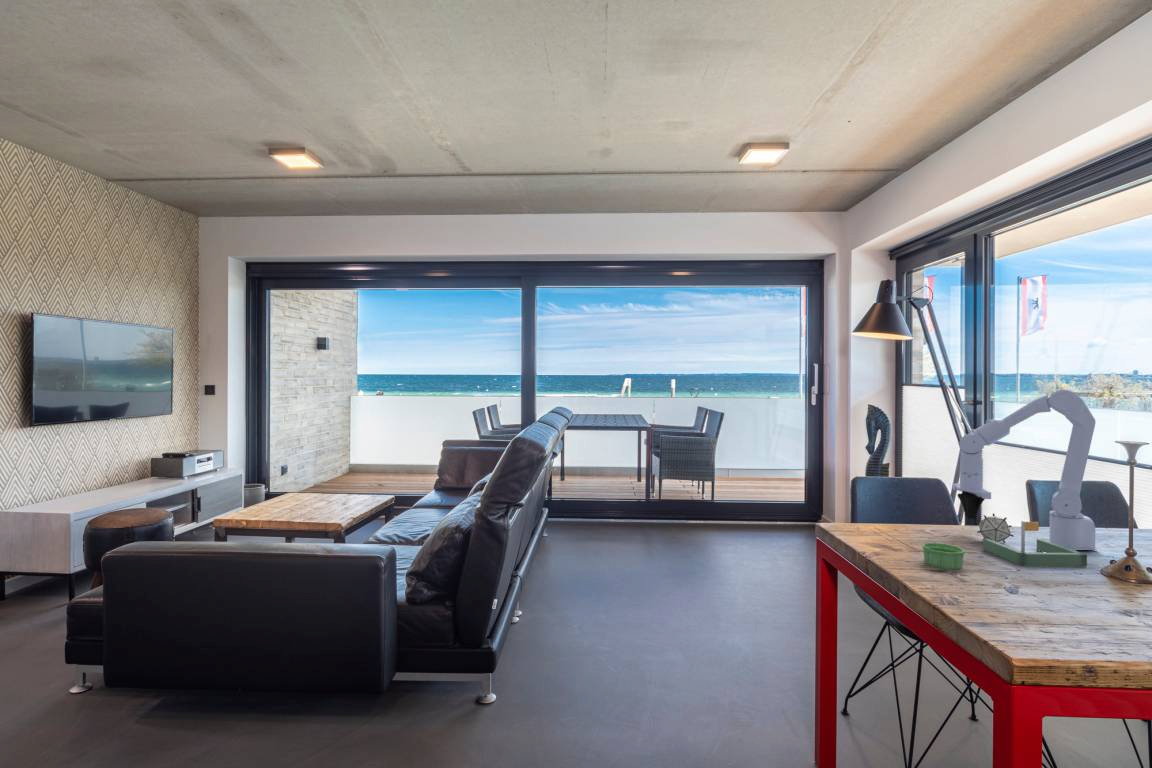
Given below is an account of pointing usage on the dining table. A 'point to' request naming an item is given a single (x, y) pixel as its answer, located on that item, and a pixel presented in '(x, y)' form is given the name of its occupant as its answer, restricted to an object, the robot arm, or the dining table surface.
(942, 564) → the ramekin
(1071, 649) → the dining table surface
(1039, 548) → the green tray
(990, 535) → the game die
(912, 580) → the dining table surface
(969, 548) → the dining table surface
